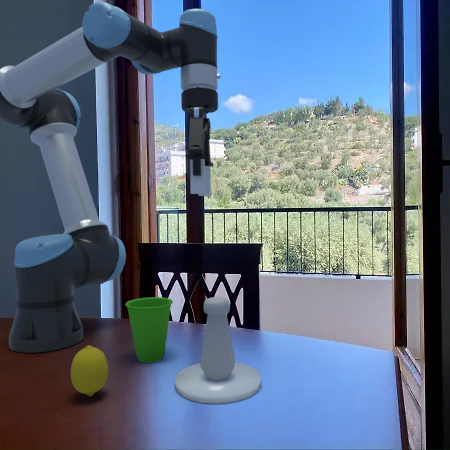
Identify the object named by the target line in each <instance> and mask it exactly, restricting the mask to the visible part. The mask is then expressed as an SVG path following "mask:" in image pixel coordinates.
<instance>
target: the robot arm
mask: <svg viewBox="0 0 450 450" xmlns="http://www.w3.org/2000/svg"><path fill="white" fill-rule="evenodd" d="M217 31H218V30H217V20H216V17H215V16H214V14H213V13H211V12H210V11H209V10H206V9H203V8H191V9H187V10H184V12H183V13H181V14H180V16H179V22H178V27H175V28H172V29H168V30H165V31H159V30H157V29H155V28H154V27H152V26H150V25H148V24H146V23H145V22H143V21H141V20H139V19H138V18H136V17H134V16H132V15H131V14H129V13H128V12H126V11H124V10H123V9H121V8H120V7H118V6H114V5H113V4H110V3H108V2H104V1H96V2H94V3H92V4H91V5H90V6H89V7H88V11H86V12H84V15H83V19H82V25H81V27H79V28H77V29H76V30H73V31H71V33H69V34H67V35H66V36H64V37H63V38H60V39H58V40H56V42H53V43H52V44H50V45H48V46H47V47H45V48H44V49H42V50H41V51H39V52H37V53H35V54H33V55H31V56H30V57H28V58H26V59H25V60H23V61H22V62H19V64H17V65H5V66H3V67H1V68H0V121H1V122H2V123H3V124H7V125H9V126H13V127H16V128H17V127H18V128H21V129H22V128H24V129H27V132H28V134H29V137H30V141H31V142H32V143H33V144H35V145H37V146H39V148H40V149H39V150H40V152H41V156H42V159H43V162H44V166H45V170H46V172H47V175H48V179H49V182H50V183H49V184H50V185H51V188H52V192H53V195H54V199H55V202H56V205H57V209H58V212H59V215H60V218H61V222H62V224H63V229H64V232H63V233H57V234H54V233H53V234H48V235H39V236H34V237H31V238H26V239H24V240H22V241H20V242H18V244H17V245H16V246H15V250H14V252H15V253H14V261H13V264H14V267H15V269H14V270H15V292H16V293H15V294H16V295H15V297H16V312H15V315H14V319H13V323H12V325H11V328H10V332H9V335H8V348H9V349H10V350H11V351H13V352H17V353H26V354H27V353H28V354H29V353H30V354H31V353H33V354H34V353H44V352H51V351H56V350H61V349H65V348H68V347H71V346H74V345H77V344H79V343H80V342H81V341H83V339H84V328H83V327H84V326H83V324H82V321H81V319H80V315H79V314H78V310H77V309H76V305H75V298H74V297H75V289H79V288H84V287H89V286H93V285H94V286H95V285H97V284H98V285H102V284H104V283H106V282H110V281H113V280H115V279H117V278H118V276H119V275H120V274H121V273H122V272H123V269H124V266H125V264H126V258H127V254H126V248H125V244H124V243H123V241H122V240H121V239H120V238H119V237H117V236H115V235H111V232H110V230H109V226H108V225H107V223H105V222H102V221H100V219H99V218H100V217H99V215H98V211H97V208H96V206H95V203H94V200H93V196H92V193H91V191H90V187H89V184H88V181H87V177H86V174H85V172H84V168H83V164H82V162H81V158H80V155H79V151H78V149H77V146H76V142H75V139H74V138H75V136H76V135H77V133H78V128H79V126H80V123H81V120H80V119H81V115H82V114H81V109H80V105H79V104H78V102H77V99H75V97H74V96H73V95H72V94H70V93H69V92H67V91H64V90H62V89H60V88H59V87H61V86H63V85H65V84H67V83H69V82H70V81H73V80H75V79H76V78H78V77H80V76H82V75H84V74H86V73H88V72H90V71H93V70H94V69H96V68H98V67H99V66H102V65H104V64H106V63H108V62H110V61H111V60H114V59H116V58H118V57H123V58H125V59H128V60H130V61H131V63H132V65H133V67H134V68H136V69H137V72H139V73H140V74H142V75H152V74H153V75H154V74H155V75H156V74H161V73H162V72H167V71H171V70H174V69H178V68H180V89H181V90H182V92H181V96H180V98H181V99H180V101H181V110H182V111H183V112H185V113H188V114H189V131H188V132H189V134H188V137H189V138H188V149H187V152H186V153H185V158H186V160H187V159H188V160H189V175H190V176H189V177H190V178H189V180H190V181H189V182H190V183H189V184H190V194H191V195H196V194H197V195H198V197H211V195H212V187H211V186H212V185H211V182H212V179H211V167H214V161H213V162H212V160H211V146H210V140H211V120H210V118H209V117H207V114H209V113H210V114H211V113H212V114H213V113H215V112H217V111H218V109H219V93H218V91H217V90H218V88H219V87H218V80H220V79H221V74H219V73H218V38H219V36H218V33H217Z"/></svg>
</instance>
